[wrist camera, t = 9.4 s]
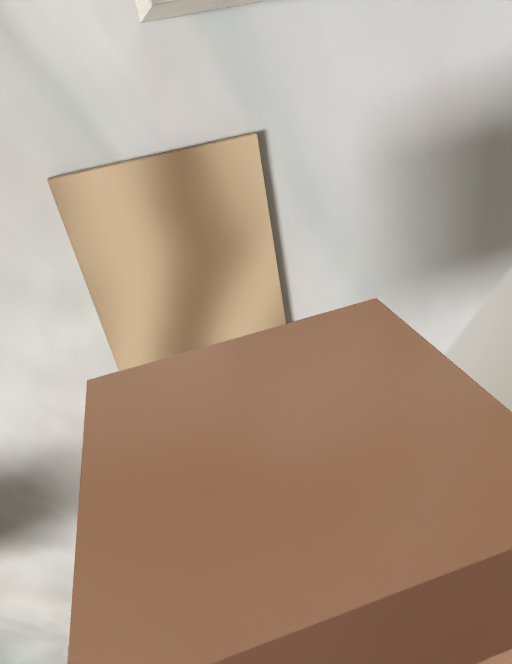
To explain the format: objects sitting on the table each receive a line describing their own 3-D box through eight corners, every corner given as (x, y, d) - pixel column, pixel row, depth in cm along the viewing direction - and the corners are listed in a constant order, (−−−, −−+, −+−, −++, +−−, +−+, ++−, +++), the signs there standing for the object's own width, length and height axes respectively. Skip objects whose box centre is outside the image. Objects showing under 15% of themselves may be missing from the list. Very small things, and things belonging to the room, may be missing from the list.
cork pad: (132, 401, 26) (132, 406, 26) (48, 177, 20) (47, 180, 20) (288, 355, 28) (291, 359, 27) (253, 132, 22) (256, 133, 21)
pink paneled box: (195, 634, 14) (253, 1013, 8) (87, 380, 9) (55, 840, 4) (388, 562, 15) (559, 861, 9) (376, 298, 10) (700, 571, 5)
